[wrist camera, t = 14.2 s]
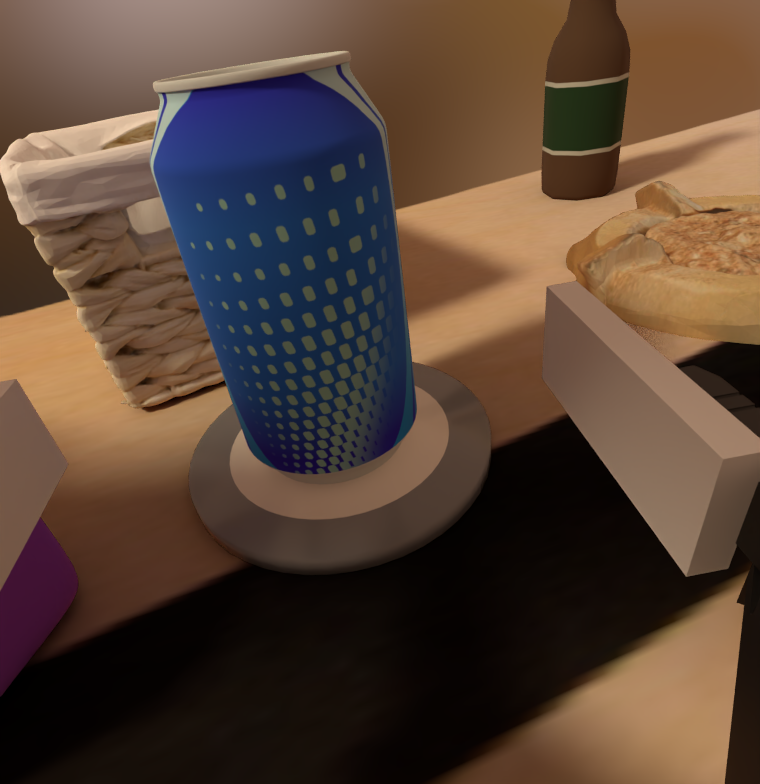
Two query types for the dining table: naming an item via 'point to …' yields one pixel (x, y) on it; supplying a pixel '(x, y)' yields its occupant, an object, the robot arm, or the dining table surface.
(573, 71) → the beer bottle
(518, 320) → the dining table surface
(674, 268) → the ashtray
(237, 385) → the beer can
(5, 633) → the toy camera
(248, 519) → the coaster plate
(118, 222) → the storage basket
